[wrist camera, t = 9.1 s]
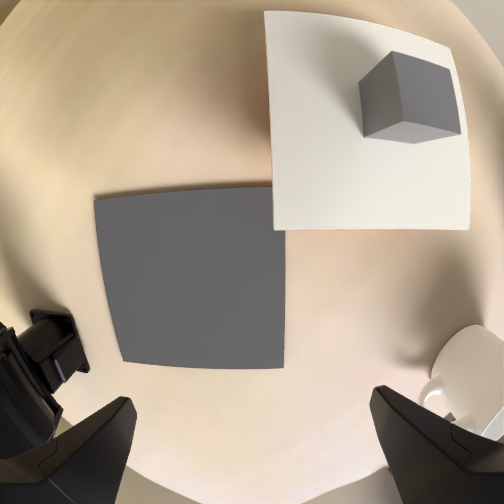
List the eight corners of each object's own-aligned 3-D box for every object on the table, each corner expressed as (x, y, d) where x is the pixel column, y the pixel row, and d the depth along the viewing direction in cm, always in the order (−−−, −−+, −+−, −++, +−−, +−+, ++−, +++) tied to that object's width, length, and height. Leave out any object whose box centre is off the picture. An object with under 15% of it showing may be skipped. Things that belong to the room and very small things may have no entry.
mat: (125, 358, 21) (123, 361, 21) (96, 200, 18) (93, 200, 18) (283, 365, 21) (283, 368, 21) (283, 186, 18) (284, 186, 17)
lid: (273, 227, 13) (281, 249, 9) (263, 18, 11) (265, -36, 6) (461, 227, 13) (514, 243, 8) (443, 52, 10) (485, 28, 6)
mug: (404, 350, 21) (462, 428, 10) (490, 310, 20) (552, 356, 9) (397, 409, 23) (433, 480, 12) (476, 370, 22) (522, 419, 11)
